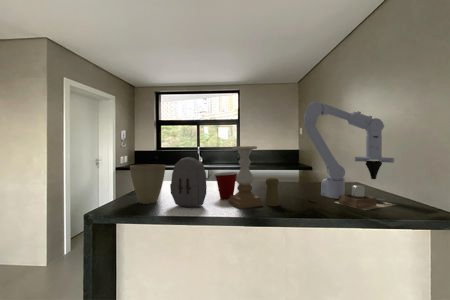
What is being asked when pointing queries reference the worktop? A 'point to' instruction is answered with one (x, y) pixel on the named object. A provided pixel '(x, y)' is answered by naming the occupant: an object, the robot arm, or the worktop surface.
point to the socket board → (361, 202)
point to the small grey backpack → (188, 183)
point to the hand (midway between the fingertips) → (373, 179)
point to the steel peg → (358, 192)
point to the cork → (272, 192)
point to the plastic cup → (226, 184)
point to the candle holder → (244, 182)
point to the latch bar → (381, 200)
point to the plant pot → (147, 181)
